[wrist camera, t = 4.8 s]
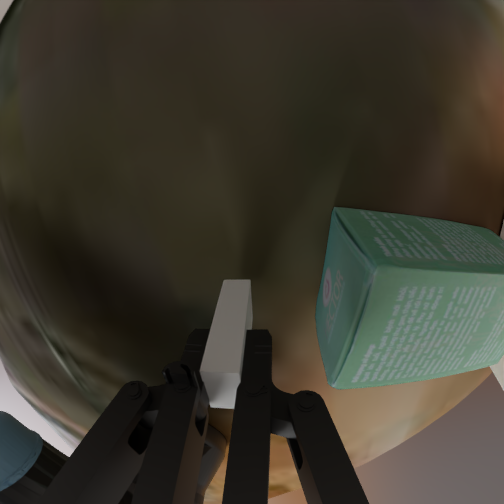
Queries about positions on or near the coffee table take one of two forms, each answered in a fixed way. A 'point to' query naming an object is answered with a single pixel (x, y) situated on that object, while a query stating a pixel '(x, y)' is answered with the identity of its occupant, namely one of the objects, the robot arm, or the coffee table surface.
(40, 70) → the coffee table surface
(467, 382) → the coffee table surface
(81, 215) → the coffee table surface
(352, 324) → the box
